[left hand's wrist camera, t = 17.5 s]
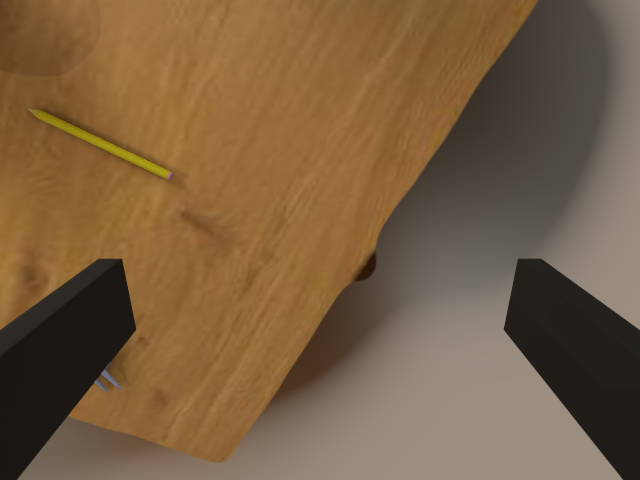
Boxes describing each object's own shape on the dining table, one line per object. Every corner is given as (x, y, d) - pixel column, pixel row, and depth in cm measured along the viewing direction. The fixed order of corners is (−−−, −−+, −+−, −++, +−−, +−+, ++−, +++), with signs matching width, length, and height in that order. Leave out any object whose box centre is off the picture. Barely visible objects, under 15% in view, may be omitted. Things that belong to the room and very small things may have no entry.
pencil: (174, 171, 44) (170, 173, 43) (171, 179, 44) (168, 181, 43) (30, 103, 41) (23, 103, 40) (28, 111, 41) (21, 112, 40)
